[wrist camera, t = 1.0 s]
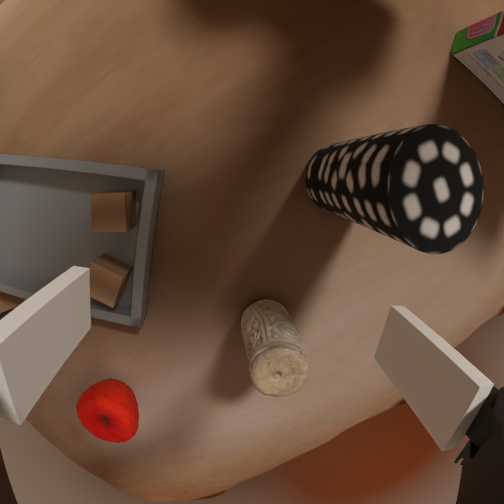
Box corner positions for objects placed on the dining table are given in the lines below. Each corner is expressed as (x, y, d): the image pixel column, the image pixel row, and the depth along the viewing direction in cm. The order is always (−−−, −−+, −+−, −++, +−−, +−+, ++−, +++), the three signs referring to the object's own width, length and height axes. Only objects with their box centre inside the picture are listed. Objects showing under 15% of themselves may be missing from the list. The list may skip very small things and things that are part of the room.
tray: (-5, 153, 32) (-20, 153, 28) (164, 170, 35) (158, 170, 31) (-9, 276, 36) (-22, 283, 32) (146, 315, 39) (140, 327, 35)
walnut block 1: (103, 192, 34) (90, 194, 30) (135, 190, 34) (124, 192, 30) (105, 226, 35) (92, 232, 31) (136, 225, 35) (126, 231, 31)
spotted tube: (379, 195, 37) (493, 220, 18) (323, 225, 38) (412, 277, 18) (352, 133, 35) (460, 108, 16) (292, 161, 36) (365, 152, 16)
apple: (88, 400, 42) (72, 432, 34) (92, 359, 40) (73, 391, 32) (141, 419, 43) (131, 455, 35) (150, 380, 41) (139, 416, 34)
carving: (256, 352, 41) (266, 412, 30) (229, 307, 39) (231, 360, 28) (299, 332, 41) (324, 386, 29) (275, 284, 39) (295, 330, 28)
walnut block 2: (104, 252, 36) (91, 261, 32) (133, 266, 36) (123, 277, 32) (95, 281, 36) (82, 292, 33) (122, 294, 37) (112, 307, 33)
